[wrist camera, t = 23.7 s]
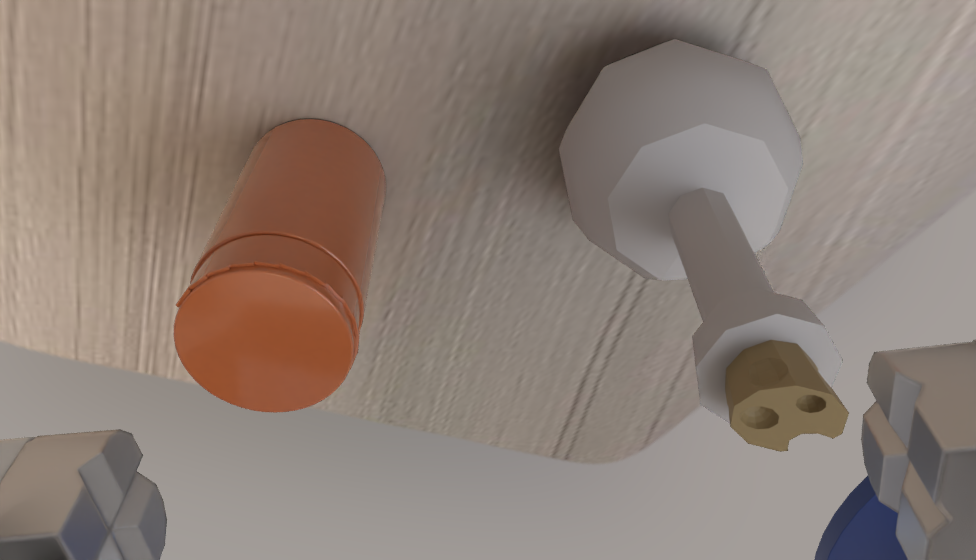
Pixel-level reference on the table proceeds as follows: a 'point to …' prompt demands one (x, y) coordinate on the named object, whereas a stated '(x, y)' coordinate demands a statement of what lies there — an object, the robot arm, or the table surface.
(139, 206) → the table surface
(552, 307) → the table surface
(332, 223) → the jar
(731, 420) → the potion bottle
